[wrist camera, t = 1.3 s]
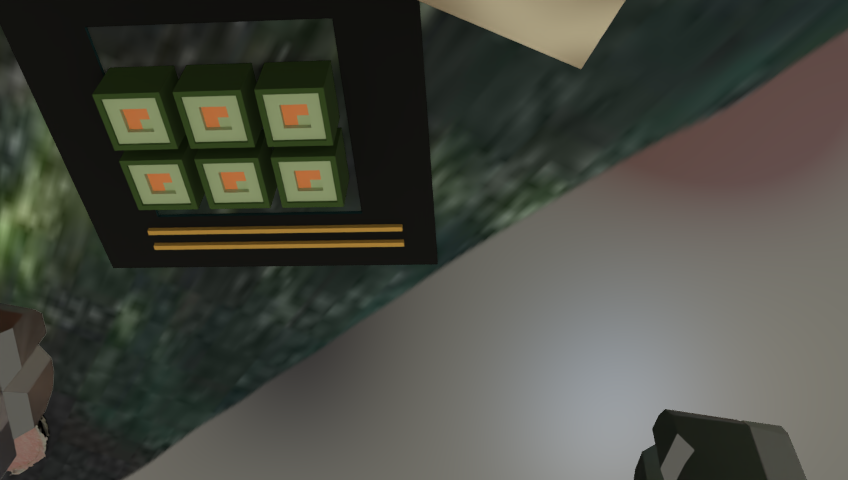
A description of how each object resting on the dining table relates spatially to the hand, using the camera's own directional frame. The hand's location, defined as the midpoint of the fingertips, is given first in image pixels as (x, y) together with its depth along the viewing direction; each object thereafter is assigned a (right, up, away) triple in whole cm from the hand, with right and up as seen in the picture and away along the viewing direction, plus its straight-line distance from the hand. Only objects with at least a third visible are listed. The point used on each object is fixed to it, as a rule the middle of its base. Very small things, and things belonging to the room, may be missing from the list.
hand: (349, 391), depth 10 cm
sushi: (-11, +10, +41) cm, 44 cm away
